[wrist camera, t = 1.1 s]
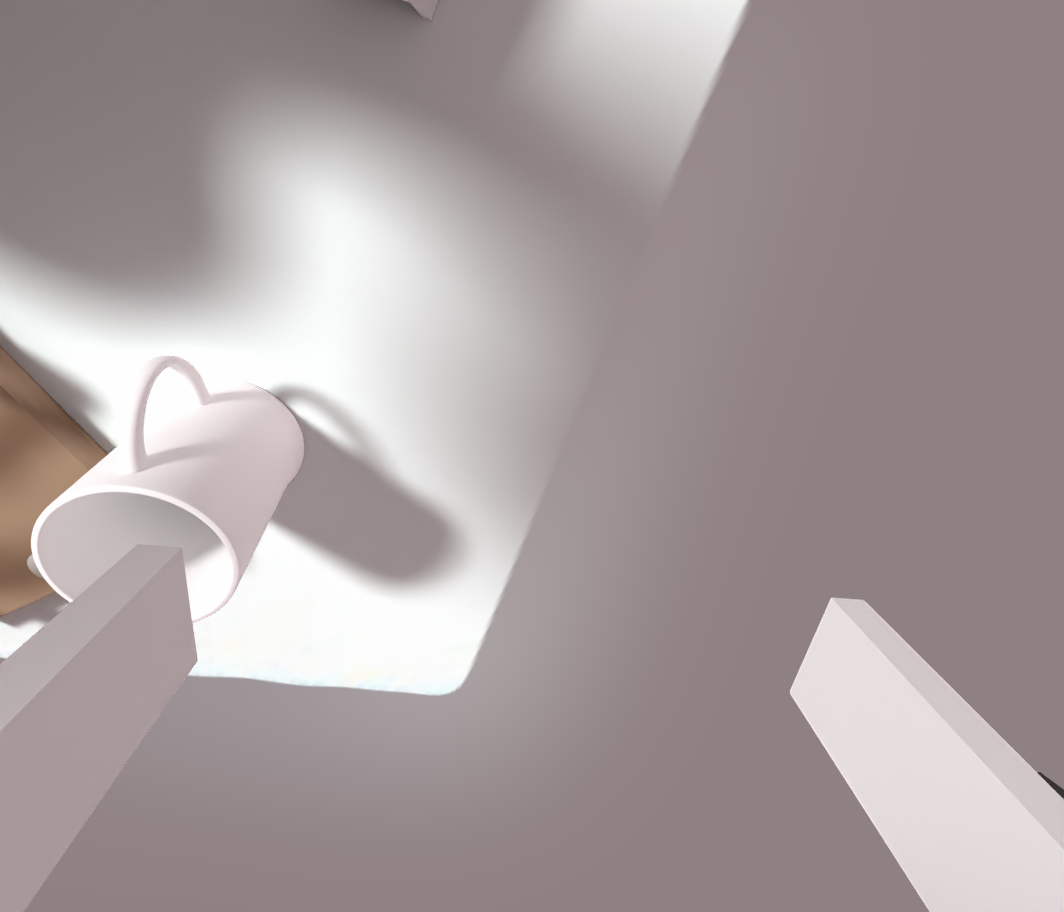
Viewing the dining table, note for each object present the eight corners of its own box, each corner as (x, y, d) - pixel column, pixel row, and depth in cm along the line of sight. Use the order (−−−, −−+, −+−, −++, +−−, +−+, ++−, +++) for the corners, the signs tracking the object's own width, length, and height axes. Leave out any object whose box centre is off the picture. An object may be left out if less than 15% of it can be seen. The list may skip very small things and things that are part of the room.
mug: (141, 312, 29) (-27, 393, 19) (304, 335, 31) (234, 421, 21) (166, 490, 34) (47, 630, 24) (305, 501, 36) (249, 635, 26)
